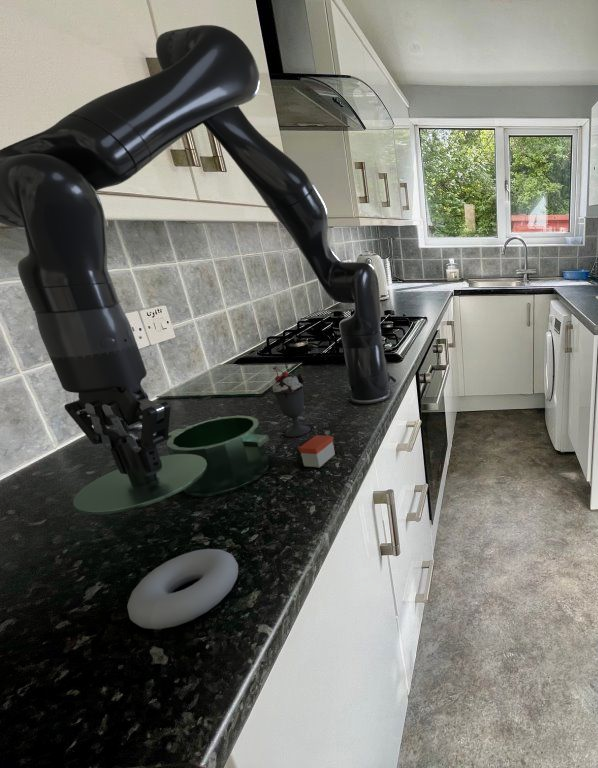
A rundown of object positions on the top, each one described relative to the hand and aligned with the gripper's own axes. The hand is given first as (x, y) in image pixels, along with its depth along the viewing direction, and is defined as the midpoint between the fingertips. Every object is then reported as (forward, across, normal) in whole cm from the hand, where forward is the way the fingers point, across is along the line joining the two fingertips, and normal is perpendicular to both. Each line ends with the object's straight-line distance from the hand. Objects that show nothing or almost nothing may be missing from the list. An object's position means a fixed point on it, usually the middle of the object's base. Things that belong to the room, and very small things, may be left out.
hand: (141, 471), depth 54 cm
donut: (+10, -14, +9) cm, 19 cm away
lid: (+2, 0, 0) cm, 2 cm away
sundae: (+10, +2, -31) cm, 33 cm away
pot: (+10, +3, -14) cm, 17 cm away
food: (+10, -10, -21) cm, 25 cm away
